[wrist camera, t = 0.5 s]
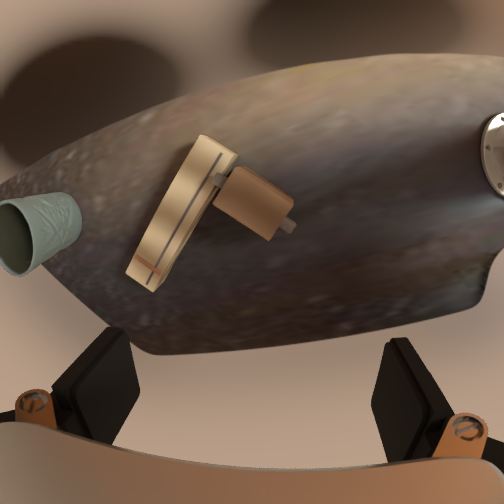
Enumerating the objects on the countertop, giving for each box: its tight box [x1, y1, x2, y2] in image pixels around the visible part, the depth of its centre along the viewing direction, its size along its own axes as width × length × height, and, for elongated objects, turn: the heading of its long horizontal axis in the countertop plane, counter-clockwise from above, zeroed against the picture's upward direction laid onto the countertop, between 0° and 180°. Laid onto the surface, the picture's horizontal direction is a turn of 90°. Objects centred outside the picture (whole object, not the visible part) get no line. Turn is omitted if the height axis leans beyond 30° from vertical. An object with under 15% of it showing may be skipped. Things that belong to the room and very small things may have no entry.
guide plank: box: [126, 135, 239, 292], centre depth 39 cm, size 20×4×4 cm, turn 147°
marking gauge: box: [211, 166, 296, 241], centre depth 36 cm, size 4×10×7 cm, turn 57°
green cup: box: [0, 192, 82, 277], centre depth 37 cm, size 10×10×12 cm
